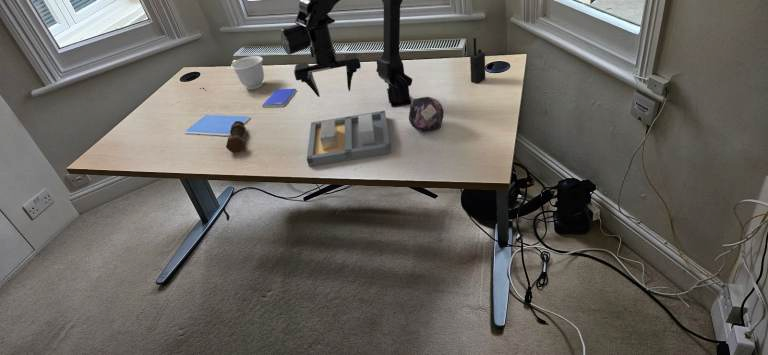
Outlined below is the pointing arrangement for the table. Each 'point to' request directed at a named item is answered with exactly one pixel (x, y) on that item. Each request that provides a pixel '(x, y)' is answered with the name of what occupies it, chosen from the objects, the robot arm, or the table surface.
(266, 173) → the table surface
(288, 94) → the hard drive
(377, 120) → the grey divided tray
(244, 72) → the teacup
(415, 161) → the table surface
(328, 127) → the block
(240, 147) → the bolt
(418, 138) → the table surface
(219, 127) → the light blue book
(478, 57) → the walkie-talkie
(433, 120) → the mineral specimen
